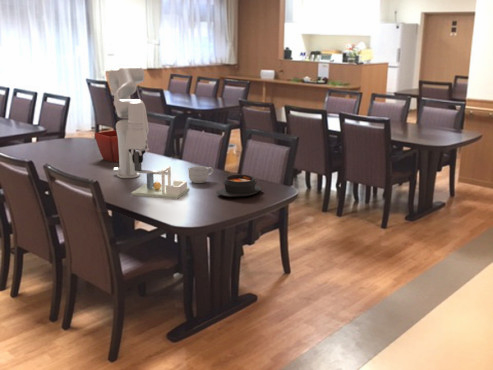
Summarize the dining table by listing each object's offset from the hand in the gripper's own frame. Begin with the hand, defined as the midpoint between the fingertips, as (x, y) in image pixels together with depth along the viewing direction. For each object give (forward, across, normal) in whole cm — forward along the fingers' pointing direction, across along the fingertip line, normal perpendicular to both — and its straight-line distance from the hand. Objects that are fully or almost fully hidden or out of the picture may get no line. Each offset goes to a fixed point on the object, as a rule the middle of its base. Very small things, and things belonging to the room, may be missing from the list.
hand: (137, 162), depth 287 cm
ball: (+11, +10, 0) cm, 15 cm away
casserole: (+15, +51, +9) cm, 54 cm away
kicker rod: (+13, +8, 0) cm, 15 cm away
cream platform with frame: (+15, +12, 0) cm, 19 cm away
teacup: (+15, +25, +25) cm, 39 cm away
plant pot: (+15, -43, +60) cm, 75 cm away
